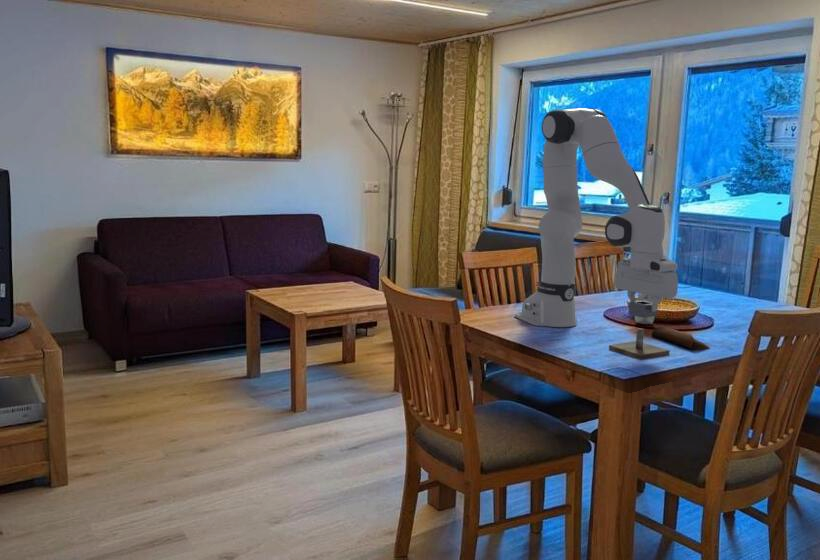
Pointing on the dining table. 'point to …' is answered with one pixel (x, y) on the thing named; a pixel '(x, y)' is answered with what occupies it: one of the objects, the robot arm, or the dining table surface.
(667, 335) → the brown tapered cylinder
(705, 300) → the dining table surface
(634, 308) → the ring
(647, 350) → the rod on square base
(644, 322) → the plastic bottle
